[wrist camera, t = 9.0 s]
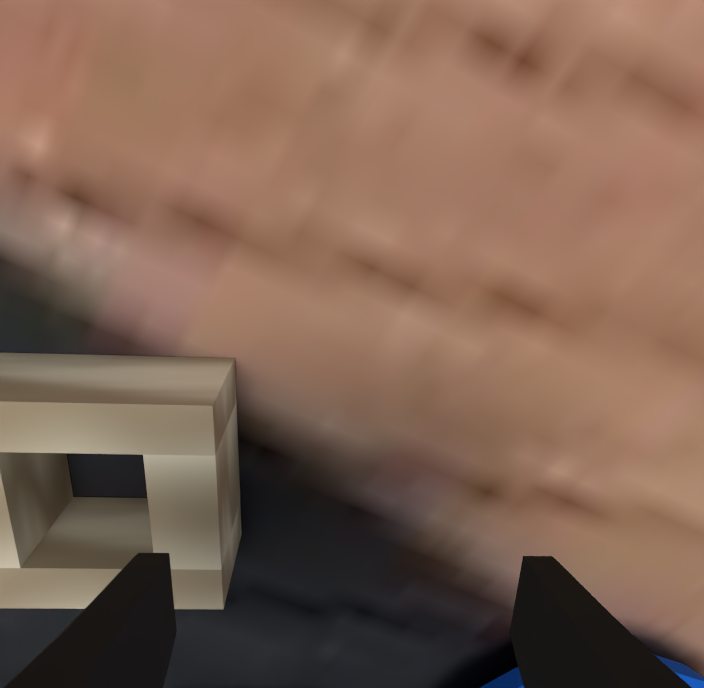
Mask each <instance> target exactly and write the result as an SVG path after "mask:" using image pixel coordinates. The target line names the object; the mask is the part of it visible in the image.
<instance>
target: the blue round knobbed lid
mask: <svg viewBox="0 0 704 688" xmlns="http://www.w3.org/2000/svg"><path fill="white" fill-rule="evenodd" d="M655 656H656V657H657V658H658V659H659V660H661V661H662V662H663V663H664V664H665V665H666V666H668V667H669V668H670V669H671V670H672V671H673V672H674V673H676V674H677V675H678V676H679V677H680V678H681V679H683V680H684V681H685V682H686V683H687V684H688V685H689V686H691V687H692V688H704V677H702V676H701V675H699V674H698V673H696V672H695V671H693V670H692V669H690V668H689V667H687V666H686V665H684V664H682V663H679V662H676V661H672V660H669V659H666V658H663V657H660V656H657V655H655ZM480 688H524V686H523V682H522V679H521V675H520V671H519V668H518V667H517V668H514V669H513V670H511V671H509V672H507V673H505V674H504V675H502V676H500V677H498V678H496V679H495V680H493V681H491V682H489V683H487V684H485V685H484V686H482V687H480Z"/></svg>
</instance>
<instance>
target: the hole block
mask: <svg viewBox="0 0 704 688" xmlns="http://www.w3.org/2000/svg"><path fill="white" fill-rule="evenodd" d="M67 453H79V454H139V455H143V459H144V469H145V478H146V488H147V497H148V498H109V497H73V491H72V485H71V478H70V472H69V466H68V459H67ZM240 538H241V507H240V480H239V453H238V426H237V399H236V372H235V358H205V357H163V356H122V355H80V354H38V353H0V608H67V609H85V608H86V607H87V606H88V605H89V604H90V603H91V602H92V601H93V600H94V599H95V598H96V597H97V596H98V595H99V594H100V592H101V591H102V590H103V589H104V588H105V587H106V586H107V585H108V584H109V583H110V582H111V581H112V580H113V579H114V578H115V576H116V575H117V574H118V573H119V572H120V571H121V570H122V569H123V568H124V567H125V566H126V565H127V564H128V562H129V561H130V560H131V559H132V558H133V557H134V556H135V555H137V554H138V553H169V556H170V567H171V577H172V588H173V599H174V609H224V605H225V601H226V597H227V593H228V588H229V584H230V580H231V576H232V572H233V568H234V563H235V559H236V555H237V551H238V547H239V542H240Z"/></svg>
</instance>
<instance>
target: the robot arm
mask: <svg viewBox="0 0 704 688" xmlns="http://www.w3.org/2000/svg"><path fill="white" fill-rule="evenodd" d="M510 635H511V640H512V644H513V648H514V652H515V656H516V660H517V664H518V668H519V671H520V675H521V679H522V682H523V686H524V688H692V687H691V686H689V685H688V684H687V683H686V682H685V681H684V680H683V679H681V678H680V677H679V676H678V675H677V674H676V673H674V672H673V671H672V670H671V669H670V668H669V667H668V666H666V665H665V664H664V663H663V662H662V661H661V660H659V659H658V658H657V657H656V656H655V655H654V654H653V653H652V652H651V651H650V650H648V649H647V648H646V647H645V646H644V645H643V644H642V643H641V642H640V641H639V640H638V639H637V638H635V637H634V636H633V635H632V634H631V633H630V632H629V631H628V630H627V629H626V628H625V627H624V626H623V625H622V624H621V623H620V622H619V621H617V620H616V619H615V618H614V617H613V616H612V615H611V614H610V613H609V612H608V611H607V610H606V609H605V608H604V607H603V606H602V605H601V604H600V603H599V602H598V601H597V600H596V599H595V598H594V597H593V596H592V595H591V594H590V593H589V592H588V591H587V590H586V589H585V588H584V587H583V586H582V585H581V584H580V583H579V582H578V581H577V580H576V579H575V578H574V577H573V576H572V575H571V574H570V573H569V572H568V571H567V570H566V569H565V568H564V567H563V566H562V565H561V564H560V563H559V562H558V561H557V560H556V559H555V558H554V557H552V556H523V561H522V566H521V572H520V577H519V583H518V589H517V594H516V600H515V606H514V611H513V617H512V622H511V628H510ZM175 636H176V620H175V610H174V599H173V588H172V577H171V567H170V556H169V553H138V554H137V555H135V556H134V557H133V558H132V559H131V560H130V561H129V562H128V564H127V565H126V566H125V567H124V568H123V569H122V570H121V571H120V572H119V573H118V574H117V575H116V576H115V578H114V579H113V580H112V581H111V582H110V583H109V584H108V585H107V586H106V587H105V588H104V589H103V590H102V591H101V592H100V594H99V595H98V596H97V597H96V598H95V599H94V600H93V601H92V602H91V603H90V604H89V605H88V606H87V607H86V608H85V609H84V610H83V611H82V612H81V613H80V614H79V615H78V616H77V617H76V618H75V619H74V620H73V621H72V622H71V623H70V624H69V625H68V626H67V627H66V628H65V630H64V631H63V632H62V633H61V634H60V635H59V636H58V637H57V638H56V639H55V640H54V641H53V642H52V643H50V644H49V645H48V646H47V647H46V648H45V649H44V650H43V651H42V652H41V653H40V654H39V655H38V656H37V657H36V658H35V659H33V660H32V661H31V662H30V663H29V664H28V665H27V666H26V667H25V668H24V669H23V670H22V671H21V672H20V673H19V674H17V675H16V676H15V677H14V678H13V679H12V680H11V681H10V682H9V683H8V684H7V685H5V686H4V687H3V688H163V685H164V681H165V677H166V673H167V669H168V665H169V661H170V657H171V653H172V648H173V644H174V640H175Z"/></svg>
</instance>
